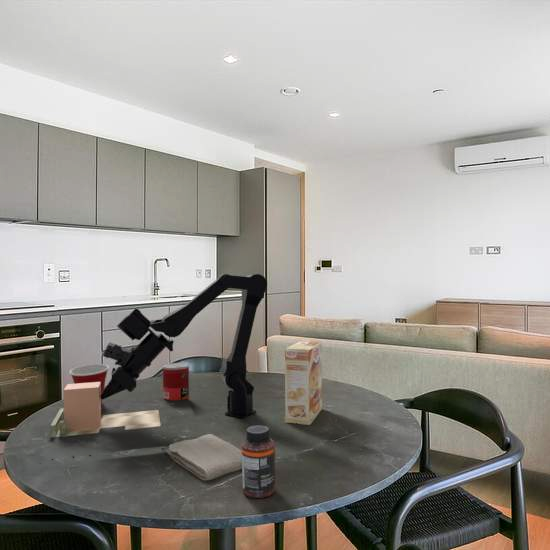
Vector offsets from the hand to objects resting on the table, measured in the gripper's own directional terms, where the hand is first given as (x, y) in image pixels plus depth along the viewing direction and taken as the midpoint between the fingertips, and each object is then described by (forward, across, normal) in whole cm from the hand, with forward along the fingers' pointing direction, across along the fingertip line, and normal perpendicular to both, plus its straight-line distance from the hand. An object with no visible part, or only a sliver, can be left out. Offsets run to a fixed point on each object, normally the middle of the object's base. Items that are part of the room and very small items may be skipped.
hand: (101, 398), depth 115 cm
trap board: (+4, 0, +7) cm, 8 cm away
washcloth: (-10, +28, +22) cm, 37 cm away
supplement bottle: (-15, +45, +26) cm, 54 cm away
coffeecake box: (-32, +7, +43) cm, 54 cm away
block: (+8, 0, +2) cm, 8 cm away
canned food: (-9, -19, +20) cm, 29 cm away
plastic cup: (+9, -19, +2) cm, 21 cm away
